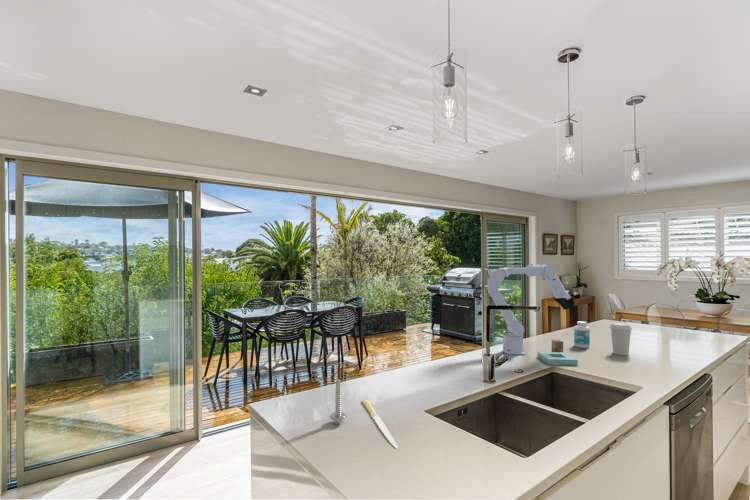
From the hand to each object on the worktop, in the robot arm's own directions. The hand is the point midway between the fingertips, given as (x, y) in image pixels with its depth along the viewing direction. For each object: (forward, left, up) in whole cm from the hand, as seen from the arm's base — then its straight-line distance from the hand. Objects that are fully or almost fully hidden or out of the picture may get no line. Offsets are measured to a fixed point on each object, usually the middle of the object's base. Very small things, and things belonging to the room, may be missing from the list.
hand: (570, 310), depth 190 cm
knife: (-92, -81, -23) cm, 124 cm away
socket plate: (-12, -12, -22) cm, 28 cm away
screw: (-105, -83, -22) cm, 135 cm away
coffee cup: (+26, +3, -22) cm, 35 cm away
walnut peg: (-7, -1, -22) cm, 23 cm away
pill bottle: (+13, +16, -22) cm, 31 cm away
